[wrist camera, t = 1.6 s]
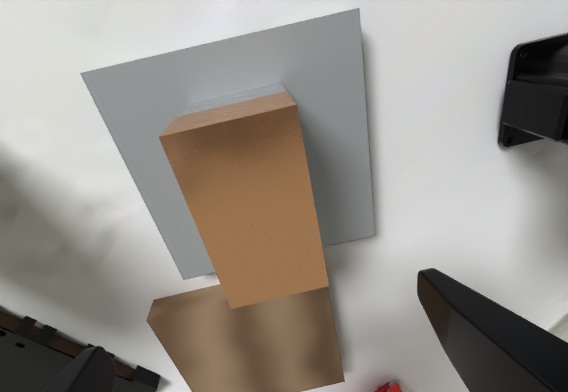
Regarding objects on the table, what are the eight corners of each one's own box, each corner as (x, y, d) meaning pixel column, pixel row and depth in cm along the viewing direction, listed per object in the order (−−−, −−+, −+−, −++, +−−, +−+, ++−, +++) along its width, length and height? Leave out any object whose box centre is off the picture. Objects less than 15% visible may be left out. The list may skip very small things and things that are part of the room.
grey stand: (347, 10, 16) (359, 8, 15) (365, 220, 23) (374, 235, 21) (98, 69, 16) (79, 73, 15) (188, 261, 23) (183, 279, 21)
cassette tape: (163, 370, 30) (157, 392, 28) (95, 422, 33) (86, 446, 31) (-39, 278, 22) (-66, 300, 20) (-104, 356, 25) (-133, 382, 23)
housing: (280, 82, 16) (296, 104, 11) (307, 220, 20) (329, 286, 15) (188, 103, 16) (158, 136, 11) (235, 237, 20) (231, 309, 15)
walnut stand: (320, 261, 25) (325, 278, 23) (339, 362, 31) (344, 381, 29) (153, 300, 25) (146, 320, 23) (208, 392, 31) (206, 413, 29)
